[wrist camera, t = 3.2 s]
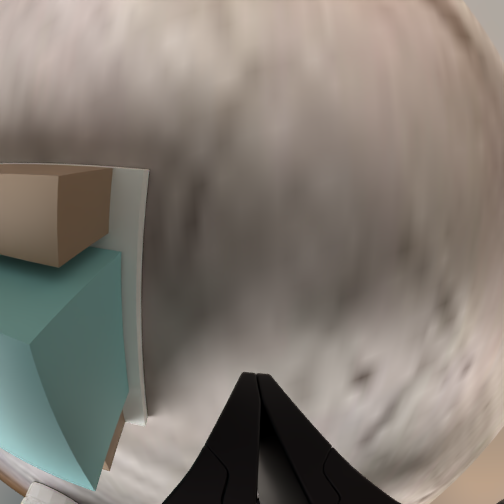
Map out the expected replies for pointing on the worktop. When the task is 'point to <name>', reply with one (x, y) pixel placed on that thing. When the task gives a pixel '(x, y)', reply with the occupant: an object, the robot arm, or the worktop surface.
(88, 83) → the worktop surface
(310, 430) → the robot arm
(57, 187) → the chute
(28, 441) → the block
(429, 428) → the worktop surface
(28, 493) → the white cup
